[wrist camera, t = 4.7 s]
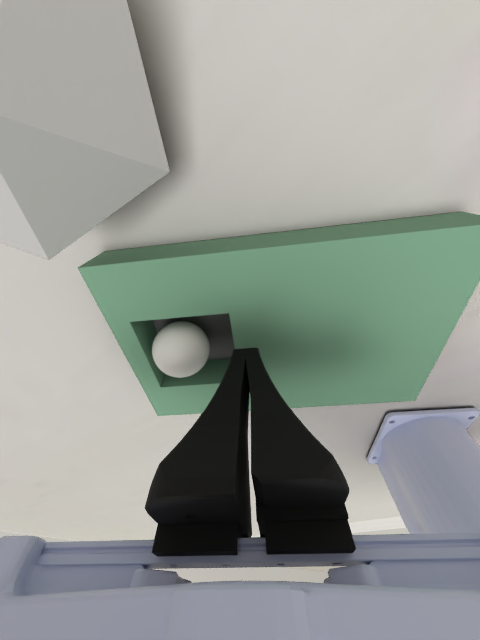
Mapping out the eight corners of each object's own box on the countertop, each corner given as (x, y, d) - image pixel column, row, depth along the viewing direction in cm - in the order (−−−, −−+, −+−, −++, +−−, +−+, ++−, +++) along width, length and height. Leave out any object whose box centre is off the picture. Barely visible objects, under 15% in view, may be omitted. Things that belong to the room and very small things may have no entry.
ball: (212, 347, 17) (217, 381, 14) (164, 358, 16) (159, 396, 13) (201, 306, 15) (204, 335, 12) (148, 317, 14) (137, 350, 11)
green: (395, 373, 18) (415, 400, 16) (166, 389, 19) (157, 415, 17) (461, 211, 11) (511, 221, 9) (104, 251, 13) (77, 267, 10)
